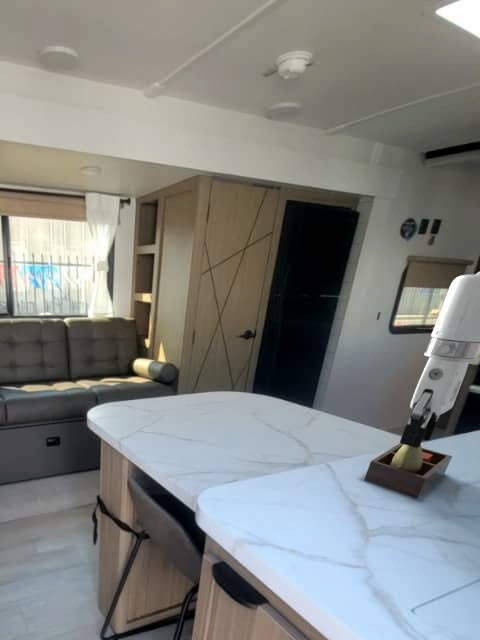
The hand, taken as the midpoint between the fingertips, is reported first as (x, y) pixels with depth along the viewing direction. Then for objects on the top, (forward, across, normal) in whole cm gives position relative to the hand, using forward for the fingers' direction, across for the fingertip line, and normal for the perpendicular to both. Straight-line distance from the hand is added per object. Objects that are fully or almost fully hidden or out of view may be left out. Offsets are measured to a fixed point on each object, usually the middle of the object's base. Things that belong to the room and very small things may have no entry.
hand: (415, 440), depth 81 cm
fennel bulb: (+7, 0, 0) cm, 7 cm away
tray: (+10, +4, 0) cm, 11 cm away
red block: (+9, +9, 0) cm, 13 cm away
